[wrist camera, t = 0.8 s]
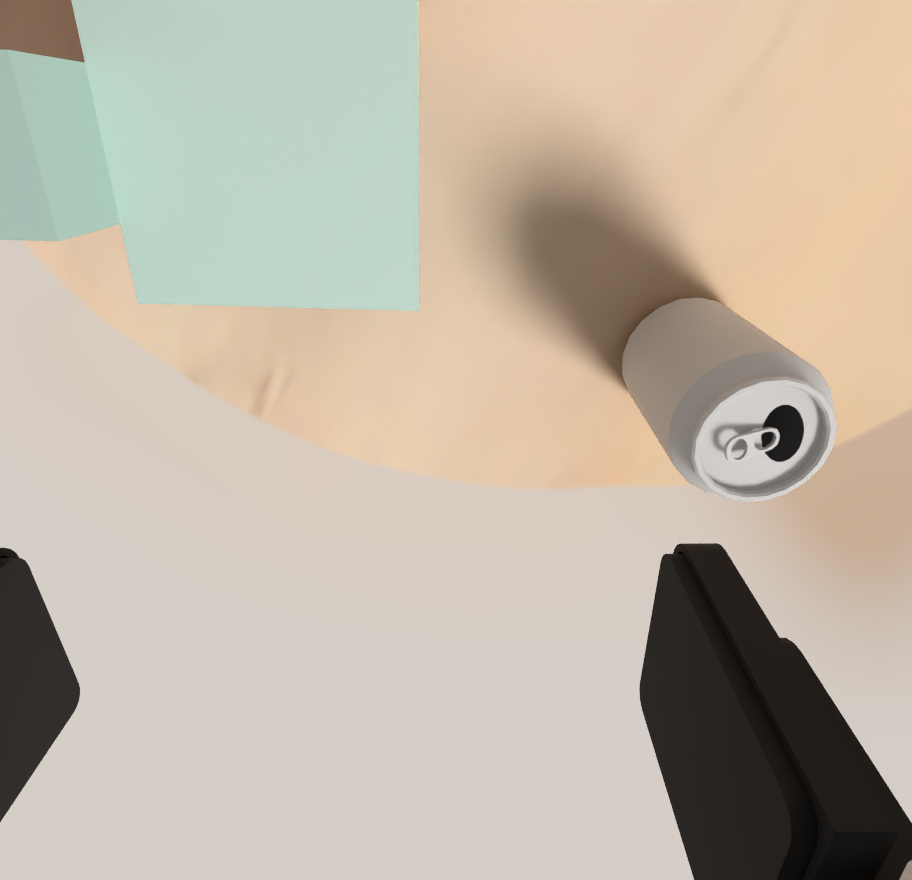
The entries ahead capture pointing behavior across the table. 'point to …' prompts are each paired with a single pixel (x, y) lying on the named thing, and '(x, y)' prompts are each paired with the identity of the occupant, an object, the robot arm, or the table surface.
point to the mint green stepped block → (227, 148)
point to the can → (728, 401)
